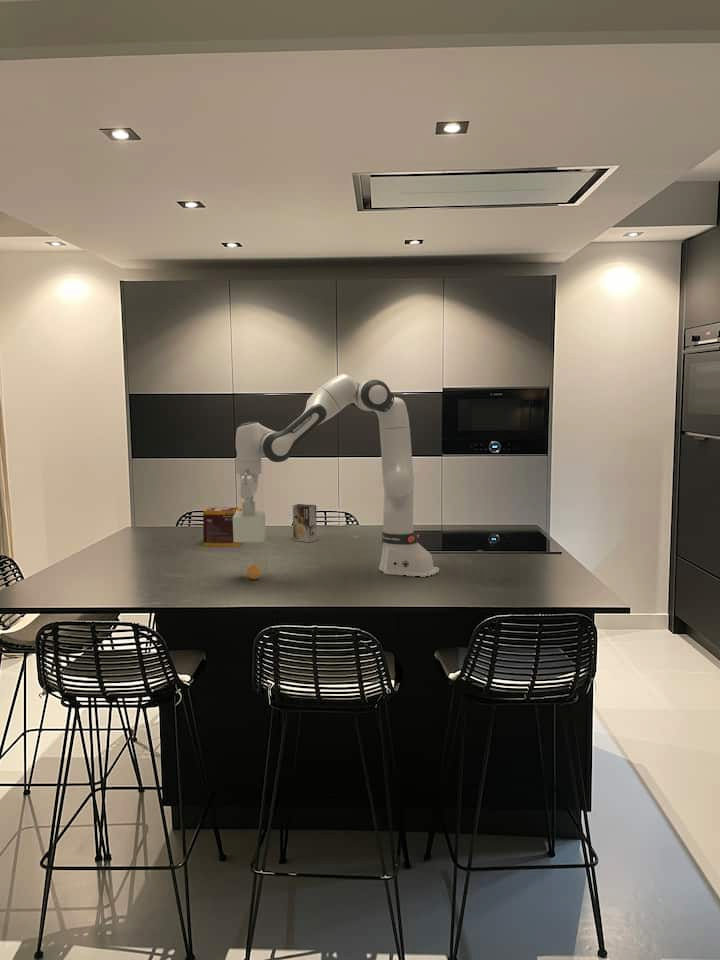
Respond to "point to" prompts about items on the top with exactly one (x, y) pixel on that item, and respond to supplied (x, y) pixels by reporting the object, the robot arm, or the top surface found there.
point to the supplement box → (219, 526)
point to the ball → (253, 572)
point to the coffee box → (304, 523)
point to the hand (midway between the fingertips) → (249, 508)
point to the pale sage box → (249, 525)
